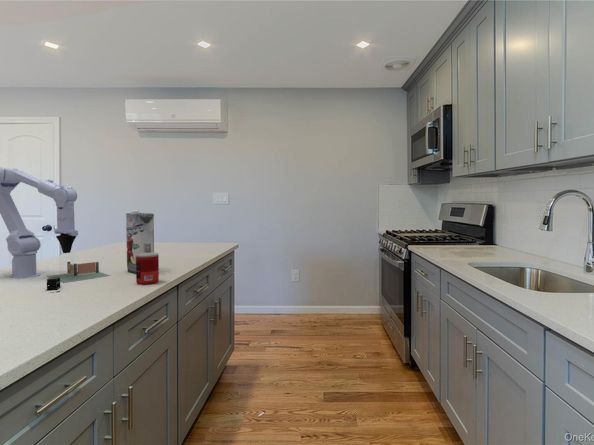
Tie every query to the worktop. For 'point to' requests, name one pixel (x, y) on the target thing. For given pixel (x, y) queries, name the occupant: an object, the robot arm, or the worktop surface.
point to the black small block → (53, 284)
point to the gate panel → (86, 267)
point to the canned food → (147, 268)
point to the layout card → (79, 276)
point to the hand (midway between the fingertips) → (66, 252)
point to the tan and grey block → (73, 268)
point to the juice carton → (138, 236)
